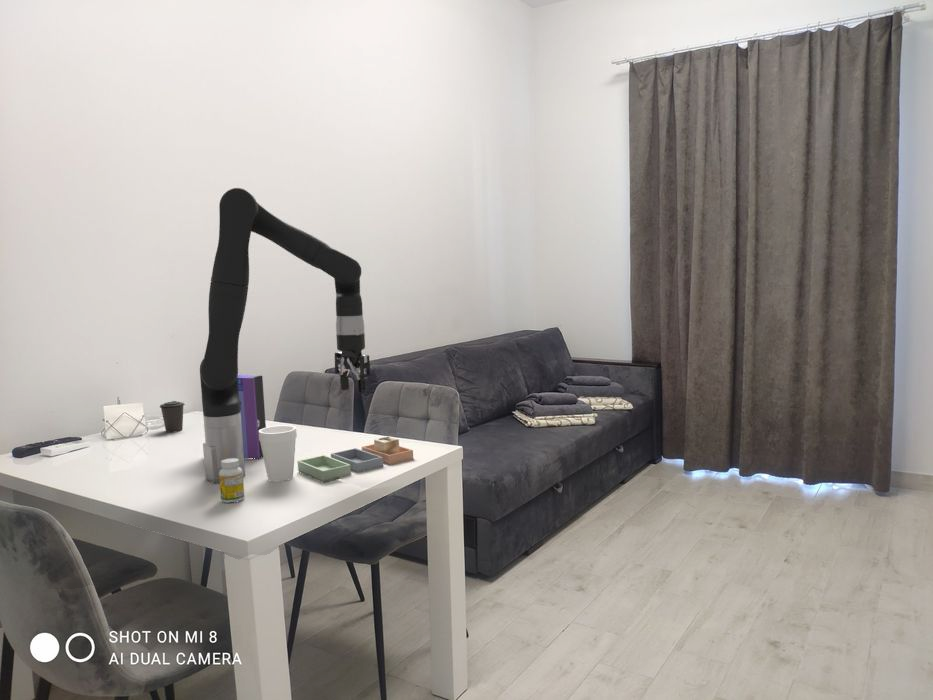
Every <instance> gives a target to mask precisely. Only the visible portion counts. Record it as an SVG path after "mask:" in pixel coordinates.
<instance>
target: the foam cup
mask: <svg viewBox="0 0 933 700" xmlns="http://www.w3.org/2000/svg"><path fill="white" fill-rule="evenodd" d="M297 434H298V433H297V426H294V425H282V424H281V425H272V426H268V427H267V426H266V428H263V429H260V430H259V441H260V443H261V448H262V453H263V458H262V459H263V462H264V468H265V470H266V471H265V472H266V477H267V481H269V480H270V481H269V482H272V481H281V482H285V481H284V480H287V481H289V480H288V479H290V480H291V478H292V477H293V478H294V469H295V454H296V444H297V443H296V442H297V441H296V440H297V438H298V437H297V436H298V435H297ZM293 478H292V479H293Z"/></svg>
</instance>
